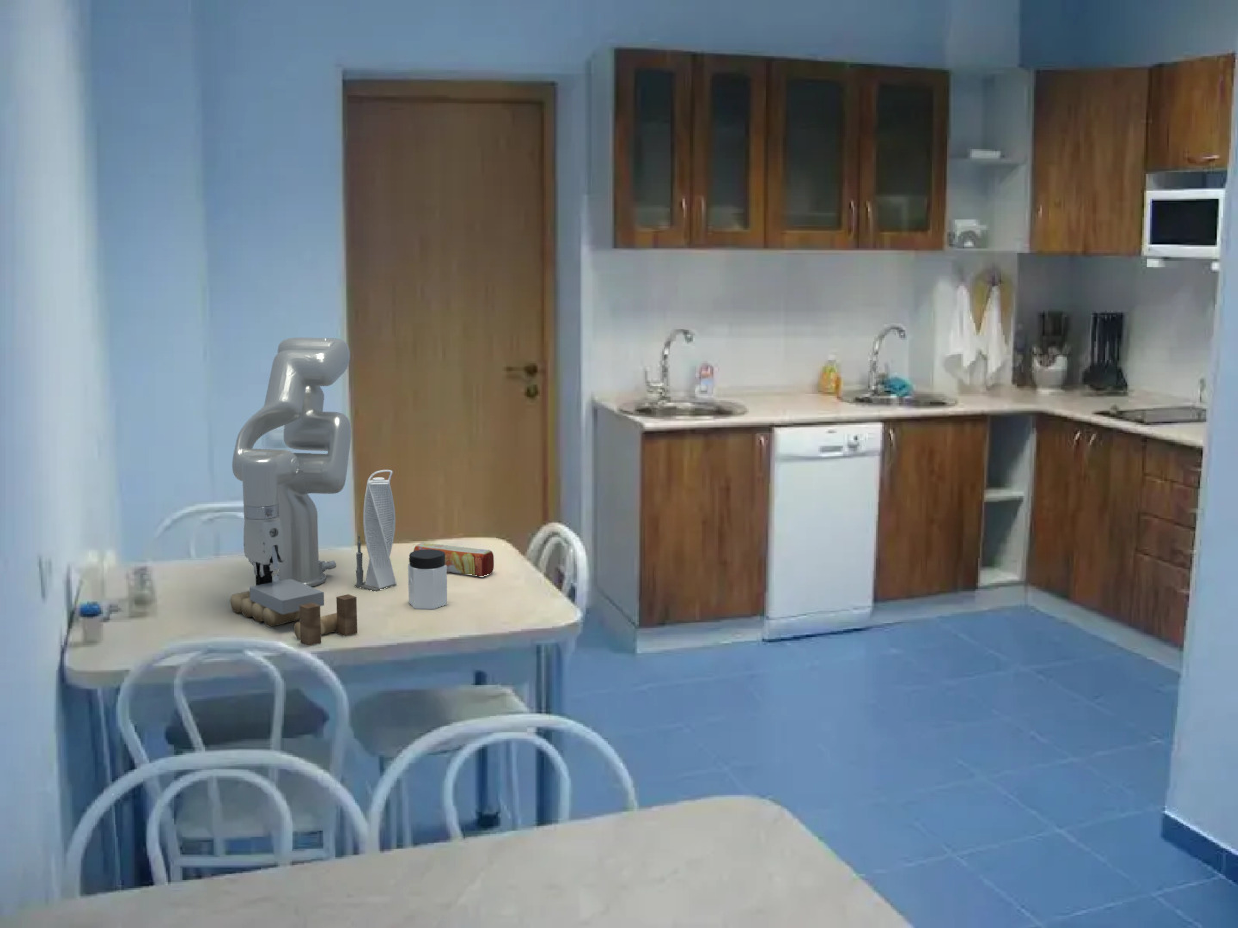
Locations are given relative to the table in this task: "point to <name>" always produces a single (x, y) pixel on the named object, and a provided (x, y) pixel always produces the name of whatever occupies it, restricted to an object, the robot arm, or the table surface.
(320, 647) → the table surface
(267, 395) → the robot arm
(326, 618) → the roller
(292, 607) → the slab
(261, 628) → the table surface
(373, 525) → the skyscraper
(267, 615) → the roller track
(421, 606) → the jar
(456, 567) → the snack package
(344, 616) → the posts
